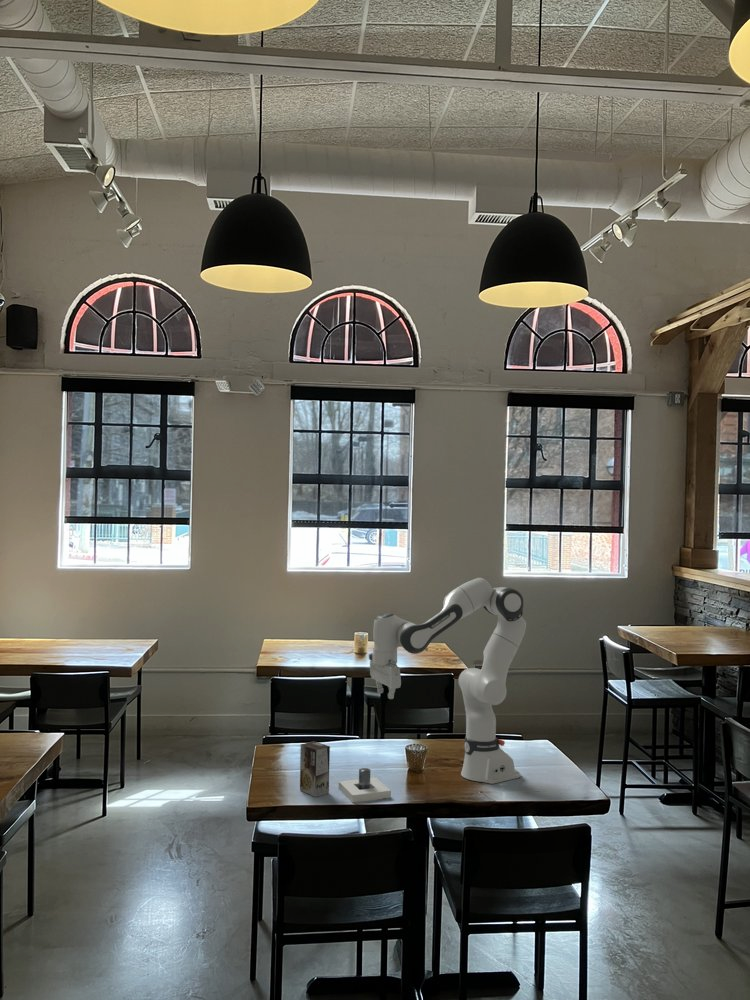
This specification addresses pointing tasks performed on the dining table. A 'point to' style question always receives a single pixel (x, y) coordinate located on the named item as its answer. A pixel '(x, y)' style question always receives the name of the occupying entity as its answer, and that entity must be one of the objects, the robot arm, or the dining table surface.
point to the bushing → (364, 778)
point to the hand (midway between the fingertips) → (385, 695)
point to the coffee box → (314, 768)
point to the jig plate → (364, 790)
